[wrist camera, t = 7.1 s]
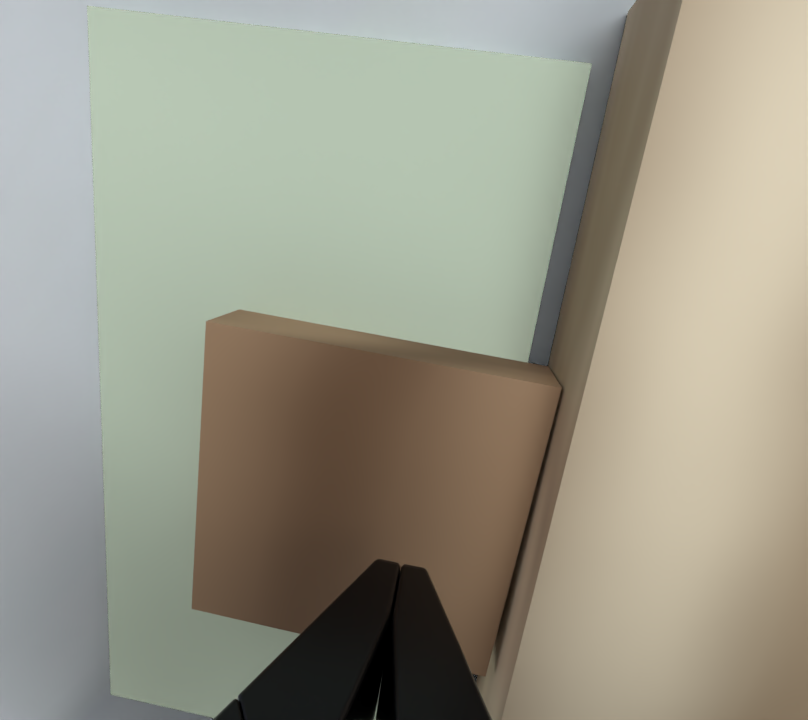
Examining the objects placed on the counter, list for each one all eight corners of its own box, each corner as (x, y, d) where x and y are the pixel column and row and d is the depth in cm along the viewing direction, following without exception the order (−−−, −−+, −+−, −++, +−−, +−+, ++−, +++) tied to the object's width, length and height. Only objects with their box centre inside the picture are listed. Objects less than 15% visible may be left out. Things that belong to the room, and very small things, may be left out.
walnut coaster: (548, 365, 11) (561, 387, 9) (483, 625, 13) (485, 676, 11) (239, 309, 11) (205, 321, 10) (221, 566, 13) (191, 608, 12)
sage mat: (588, 68, 9) (591, 63, 9) (440, 758, 14) (440, 769, 14) (98, 12, 10) (87, 5, 10) (117, 685, 15) (110, 694, 15)
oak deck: (1295, 82, 8) (1743, 3, 5) (844, 877, 14) (946, 1051, 11) (627, 11, 9) (705, -90, 6) (452, 787, 14) (449, 926, 12)
